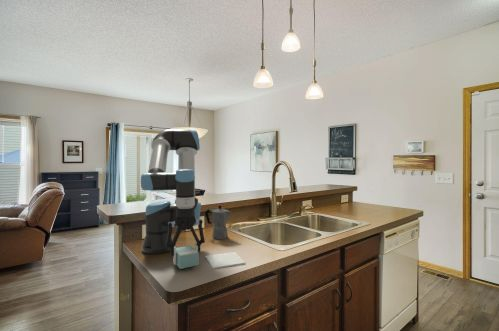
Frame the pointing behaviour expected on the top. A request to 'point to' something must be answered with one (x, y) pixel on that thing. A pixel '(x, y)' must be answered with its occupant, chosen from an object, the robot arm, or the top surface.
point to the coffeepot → (218, 222)
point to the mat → (224, 260)
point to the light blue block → (186, 257)
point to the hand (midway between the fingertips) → (185, 261)
